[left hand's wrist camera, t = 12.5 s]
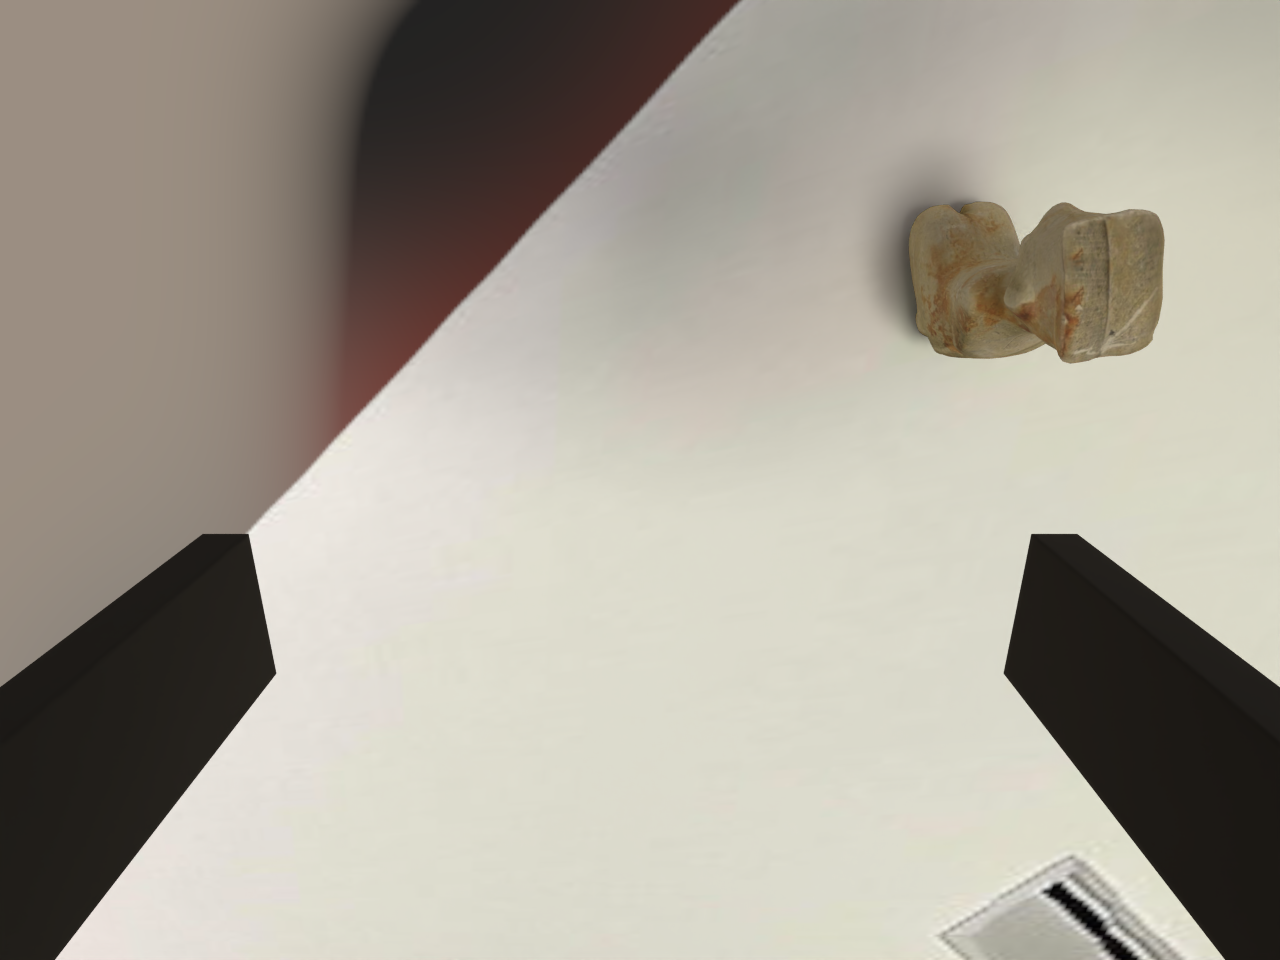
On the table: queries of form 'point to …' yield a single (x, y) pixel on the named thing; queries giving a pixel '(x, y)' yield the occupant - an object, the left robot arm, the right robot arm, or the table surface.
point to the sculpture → (1037, 281)
